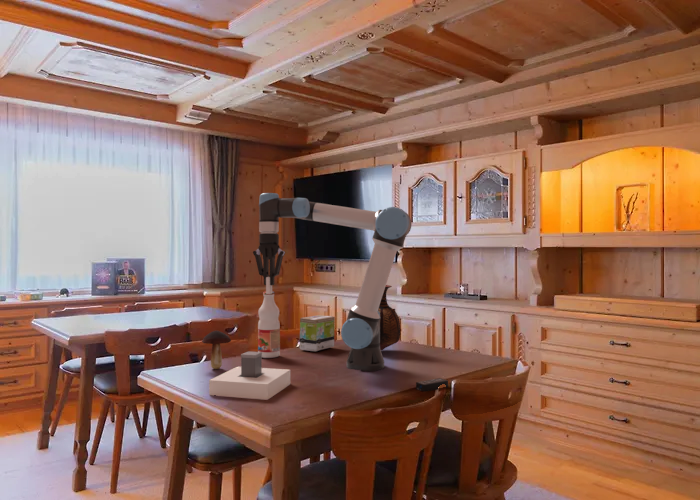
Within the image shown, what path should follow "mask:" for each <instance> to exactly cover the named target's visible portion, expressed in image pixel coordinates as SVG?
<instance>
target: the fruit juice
mask: <svg viewBox="0 0 700 500" xmlns="http://www.w3.org/2000/svg"><path fill="white" fill-rule="evenodd" d="M262 295H263V301H262V304H261V306H260V307H259V308H258V311H257V313H258V318H259V320H258V323H257V352H262V358H263V359H272V358H278V357H279V356H280V355H281V343H280V342H281V333H280V332H281V329H280V327H281V324H280V320H279V318H280V308H279V307H278V305H277V304H276V302H275V291H272V294H266V291H263V293H262Z"/></svg>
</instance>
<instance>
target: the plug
mask: <svg viewBox="0 0 700 500" xmlns="http://www.w3.org/2000/svg"><path fill="white" fill-rule="evenodd" d="M240 358H241V359H240V361H241V363H240V367H241V377H251V378H257V377H259V376H261V375H262V368H263V367H262V366H263V365H262V363H263V362H262V361H263V360H262V358H263V357H262V352H258V351H246V352H244V353H241V354H240Z"/></svg>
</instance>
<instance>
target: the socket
mask: <svg viewBox="0 0 700 500" xmlns="http://www.w3.org/2000/svg"><path fill="white" fill-rule="evenodd" d="M208 382H209V383H208V384H209V389H208V391H209V392H208V393H209V394H208V395H209V396H214V395H216V396H217V397H228V398H240V399H241V398H242V399H252V400H262V401H264V400H266V401H268V400H269V399H271V398H273V396H275V395H277V394H278V393H280V392H281V391H283V390H284V389H286V388H287V387H288V386H290V385H291V369H287V368H285V369H284V368H269V367H262V375H261V376H259V377H257V378H251V377H241V366H236V367H234V368H231V369H229V370H227V371H226V372H223V373H221V374H219V375H217V376H215V377H213V378H211V379H209V381H208Z"/></svg>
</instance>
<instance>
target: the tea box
mask: <svg viewBox="0 0 700 500" xmlns="http://www.w3.org/2000/svg"><path fill="white" fill-rule="evenodd" d="M335 317H336V316H332V315H322V314H321V315H320V314H318V315H312V316H306V317H300V318H299V319H300V320H299V350H303V351H310V352H318V351H322V350H326V349H330V348H334V347H335V331H336V330H335V329H336V328H335V326H336V325H335V323H336V321H335V320H336V319H335Z"/></svg>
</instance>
